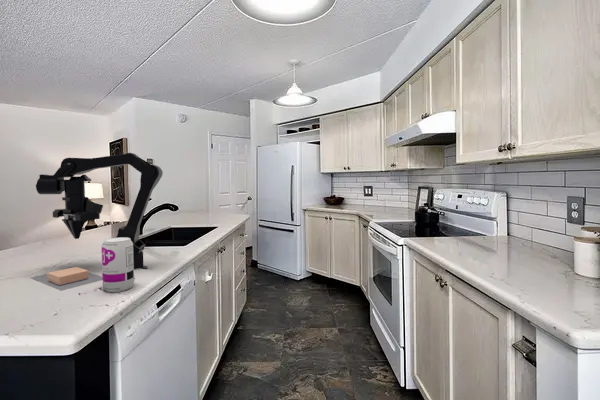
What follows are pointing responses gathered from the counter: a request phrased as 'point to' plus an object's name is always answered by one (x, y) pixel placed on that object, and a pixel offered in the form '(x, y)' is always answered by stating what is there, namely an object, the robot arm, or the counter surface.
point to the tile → (68, 276)
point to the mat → (91, 278)
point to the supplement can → (117, 264)
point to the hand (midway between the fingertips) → (76, 238)
